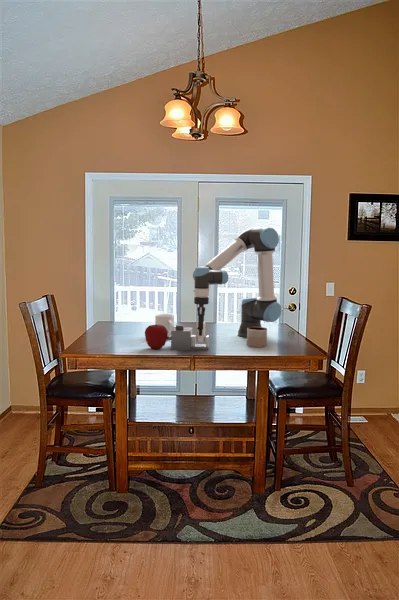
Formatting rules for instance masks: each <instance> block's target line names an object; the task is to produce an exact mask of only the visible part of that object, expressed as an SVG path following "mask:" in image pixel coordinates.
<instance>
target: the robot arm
mask: <svg viewBox="0 0 399 600" xmlns="http://www.w3.org/2000/svg"><path fill="white" fill-rule="evenodd" d="M279 241H280V237H279V233H278V232H277V231H276V229H275V228H273V227H268V226H264V227H262V226H261V227H250V228H248V229H246V230H244V231H242V232H241V233H240V234H239V235H237V236H236V237H235V238H234V239H233V242H231V243H230V244H229V245H227V247H226V248H224V249H223V250H222V251H220V252H219V253H218V254H217V255H216V256H215V257H213V258H212V259H211V260H210V261H208V263H206V264H205V265H204V266H196V267H195V269H194V270H193V272H192V278H193V280H194V289H193V294H194V298H193V303H194V304H195V305H198V307H197V316H198V317H197V322H198V328H197V327H196V330H197V329H198V342H199V343H204V342H203V322H205V315H206V314H205V312H206V307H204V306H205V305H209V301H210V300H209V299H210V298H209V297H210V286H211V285H226V284H227V283H228V281H229V274H228V272H227V271H226V270H225V269H223V268H224V267H226V266H227V265H228V264H229V263H230V262H232V261H233V260H234V259H235V258H236V257H237V256H239V255H240V254H241V253H245V252H246V251H247V250H249V249H253V251H254V253H255V254H256V258H257V259H256V260H257V275H258V276H257V277H258V279H257V281H258V297H246V298H245V297H244V298H242V300H241V304H240V305H241V307H240V308H241V310H240V311H241V312H240V313H241V315H240V316H241V318H240V319H241V321H240V325H239V328H238V330H237V336H238V337H242V338H247V328H248V327H262V324H261V321H262V322H265V323H275V322H276V321H278V320H279V318H280V316H281V315H282V311H283V310H282V306H281V304H280V303H279V302H278V299H277V297H276V295H275V289H274V288H275V286H274V285H275V282H274V261H273V259H274V258H273V254H274V253H275V251H276V247H277V246H278V244H279Z"/></svg>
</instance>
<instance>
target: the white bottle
mask: <svg viewBox="0 0 399 600" xmlns="http://www.w3.org/2000/svg"><path fill="white" fill-rule="evenodd" d="M197 328H198V321H196V343H197V342H198V329H197ZM204 342H205V343H206V321H204V322H203V342H202V343H204Z"/></svg>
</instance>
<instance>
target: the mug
mask: <svg viewBox="0 0 399 600" xmlns="http://www.w3.org/2000/svg"><path fill="white" fill-rule="evenodd" d="M154 318H155V320H154V322H155V324H154V325H163V326H164V327H165V328H166V329H167V331H168V335H167V336H171V330H172V329H173V327H175V315H174V314H171V313H160V314H159V313H158V314H157V313H156V314H155V317H154Z"/></svg>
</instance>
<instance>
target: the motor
mask: <svg viewBox="0 0 399 600" xmlns="http://www.w3.org/2000/svg"><path fill="white" fill-rule="evenodd" d="M166 341H170V350H171V351H191V350H192V351H193V350H197V351H198V350H199V351H201V350H202V351H204V350H205V351H209V349H210V348H209V347H210V335H209V334H208V335H205V343H197V334H193V326H190V327H187V326H185V325H184V324H176V325H175V326H174V327H173V329H172V330H171V336H167V340H166Z"/></svg>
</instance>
